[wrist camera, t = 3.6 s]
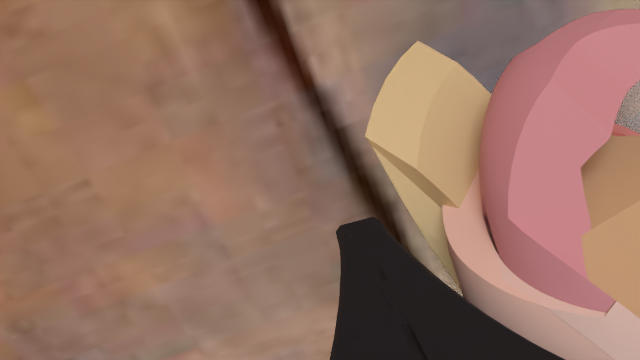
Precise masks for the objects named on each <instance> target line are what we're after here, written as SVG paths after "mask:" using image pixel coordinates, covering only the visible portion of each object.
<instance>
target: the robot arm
mask: <svg viewBox="0 0 640 360" xmlns="http://www.w3.org/2000/svg"><path fill="white" fill-rule="evenodd" d="M336 234H337V239H338V243H339V247H340V256H341V279H340V297H339V307H338V314H337V321H336V328H335V335H334V341H333V346H332V351H331V356H330V360H565V359H563V358H561V357H559V356H557V355H555V354H553V353H551V352H549V351H548V350H546V349H544V348H542V347H540V346H538V345H536V344H534V343H533V342H531V341H529V340H527V339H526V338H524V337H522V336H521V335H519V334H517V333H516V332H514V331H512V330H510V329H509V328H507V327H506V326H504V325H503V324H501V323H499V322H498V321H496V320H495V319H493V318H492V317H490V316H489V315H487V314H486V313H484V312H483V311H481V310H480V309H478V308H477V307H476V306H474V305H473V304H471V303H470V302H469V301H467V300H466V299H465V298H463V297H462V296H461V295H459V294H458V293H457V292H455V291H454V290H453V289H451V288H450V287H449V286H448V285H446V284H445V283H444V282H443V281H441V280H440V279H439V278H438V277H437V276H435V275H434V274H433V273H432V272H431V271H430V270H428V269H427V268H426V267H425V266H424V265H423V264H421V263H420V262H419V261H418V260H417V259H416V258H415V257H414V256H413V255H411V254H410V253H409V252H408V251H407V250H406V249H405V248H404V247H403V246H402V245H401V244H400V243H399V242H398V241H397V240H396V239H395V238H394V237H393V236H392V235H391V234H390V233H389V232H388V230H387V229H386V228H385V227H384V226H383V225H382V224H381V222H380V221H379V220H377V219H376V218H374V217H371V218H367V219H363V220H359V221H356V222H352V223H348V224H344V225H341V226H340V227H339V228H338V229H337V231H336Z"/></svg>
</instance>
